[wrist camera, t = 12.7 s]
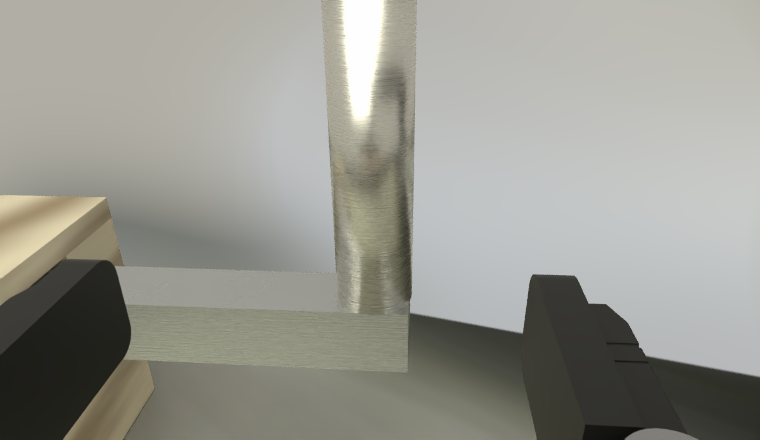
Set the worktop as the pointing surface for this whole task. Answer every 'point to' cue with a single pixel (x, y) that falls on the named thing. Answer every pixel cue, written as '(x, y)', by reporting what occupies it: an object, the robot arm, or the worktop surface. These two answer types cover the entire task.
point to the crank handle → (351, 231)
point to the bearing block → (50, 247)
